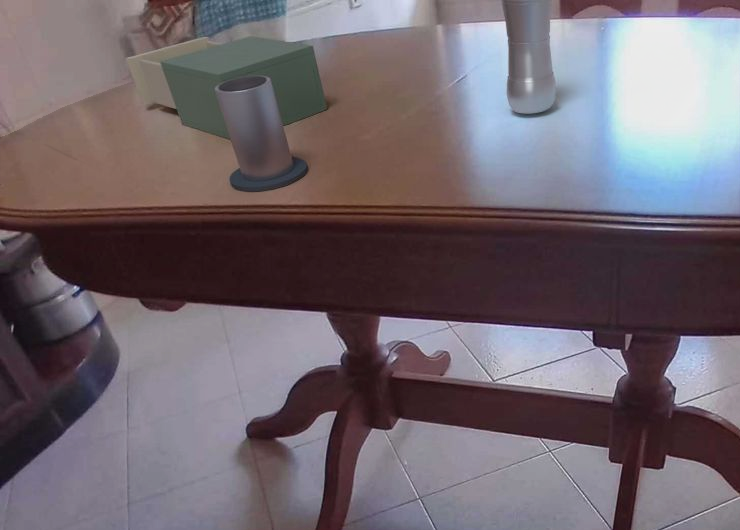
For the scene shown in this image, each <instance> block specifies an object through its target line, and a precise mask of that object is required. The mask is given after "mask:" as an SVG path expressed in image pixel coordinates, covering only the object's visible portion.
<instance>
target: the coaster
mask: <svg viewBox="0 0 740 530" xmlns="http://www.w3.org/2000/svg"><path fill="white" fill-rule="evenodd" d="M291 157H292V161H293V164H294V168H293V169H292V170H291V171H290V172H289V173H287V174H285V175H283V176H281V177H278V178H275V179H271V180H265V181H249V180H246V179H244V178H243V176H242V173H241V170H240V167H238V168H237V169H235V170H234V171H233V172H232V173H231V174H230V176H229V179H228V180H229V182H230V186H231V187H232V188H233V189H235V190H238V191H242V192H252V193H253V192H264V191H265V192H266V191H271V190H276V189H280V188H282V187H286V186H288V185H291V184H293V183H295V182H297V181H299V180H300V179H302V178H304V177H305V175H306V174H307V173H308V170H309V169H308V164H307V162H306V161H305V160H304V159H302V158H300V157H297V156H296V157H295V156H291Z"/></svg>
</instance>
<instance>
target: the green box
mask: <svg viewBox="0 0 740 530" xmlns="http://www.w3.org/2000/svg"><path fill="white" fill-rule="evenodd" d="M160 64H161V66H162V68H163V72H164V75H165V78H166V80H167V83H168V86H169V89H170V92H171V94H172V97H173V100H174V103H175V106H176V108H177V109H176V112H177V114H178V117H179V120H180V122H181V125H182V126H185V127H186V126H187V127H190V128H193V129H196V130H199V131H202V132H205V133H208V134H210V135H211V134H212V135H214V136H218V137H221V138H224V139H227V140H230V141H231V139H230V136H229V132H228V129H227V126H226V123H225V120H224V117H223V114H222V111H221V107H220V104H219V101H218V98H217V95H216V92H215V87H216V86H218V85H219V84H221V83H223V82H226V81H229V80H232V79H236V78H241V77H247V76H266V77H269V78H270V79H271V83H272V87H273V90H274V94H275V98H276V101H277V105H278V109H279V112H280V116H281V120H282V124H283V127H285V126H288V125H290V124H292V123H295V122H299V121H300V120H303V119H306V118H309V117H311V116H313V115H317V114H320V113H322V112H324V111H327V110H328V106H327V103H326V102H327V101H326V98H325V93H324V89H323V85H322V84H323V83H322V80H321V75H320V71H319V67H318V62H317V57H316V54H315V48H314V45H311V44H305V43H298V42H292V41H286V40H279V39H272V38H266V37H259V36H252V35H250V36H246V37H242V38H239V39H236V40H231V41H229V42H225V43H224V44H221V45H218V46H214V47H210V48H207V49H203V50H200V51H196V52H193V53H189V54H186V55H182V56H179V57H175V58H171V59H168V60H164V61H161V62H160Z"/></svg>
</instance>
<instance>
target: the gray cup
mask: <svg viewBox="0 0 740 530" xmlns="http://www.w3.org/2000/svg"><path fill="white" fill-rule="evenodd" d="M215 92H216V95H217V98H218V101H219V104H220V107H221V111H222V114H223V117H224V120H225V123H226V126H227V129H228V132H229V136H230V139H231V140H230V139H229V140H230V141H231V145H232V148H233V151H234V154H235V158H236V160H237V161H236V162H237V164H238V168H240V170H241V173H242V176H243V178H244V179H246V180H249V181H265V180H271V179H275V178H278V177H281V176H283V175H285V174H287V173H289V172H290V171H291V170H292V169H293V168H294V164H293V161H292V157H293V156H292V153H291V149H290V146H289V142H288V139H287V136H286V130H285V128H284V127H285V126H283V124H282V120H281V116H280V112H279V109H278V105H277V101H276V98H275V94H274V90H273V87H272V83H271V79H270V78H269V77H266V76H247V77H241V78H236V79H232V80H229V81H226V82H223V83H221V84H219V85H218V86H216V87H215Z"/></svg>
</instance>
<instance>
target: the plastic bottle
mask: <svg viewBox="0 0 740 530" xmlns="http://www.w3.org/2000/svg"><path fill="white" fill-rule="evenodd" d="M500 2H501V6H502V12H503V17H504V22H505V29H506V37H507V47H508V53H507V55H508V57H507V58H508V59H507V60H508V61H507V66H508V68H507V71H508V73H507V74H508V75H507V80H506V98H507V101H508V105H509V107H510V108H511V109H512V111H513V112H515V113H518V114H529V115H530V114H538V113H542V112H545V111H547V110H549V109H551V108H552V107H553V105H554V103H555V101H556V96H557V83H556V77H555V74H554V71H553V61H552V51H551V35H550V33H551V13H552V4H553V3H552V2H553V0H501V1H500Z"/></svg>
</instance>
